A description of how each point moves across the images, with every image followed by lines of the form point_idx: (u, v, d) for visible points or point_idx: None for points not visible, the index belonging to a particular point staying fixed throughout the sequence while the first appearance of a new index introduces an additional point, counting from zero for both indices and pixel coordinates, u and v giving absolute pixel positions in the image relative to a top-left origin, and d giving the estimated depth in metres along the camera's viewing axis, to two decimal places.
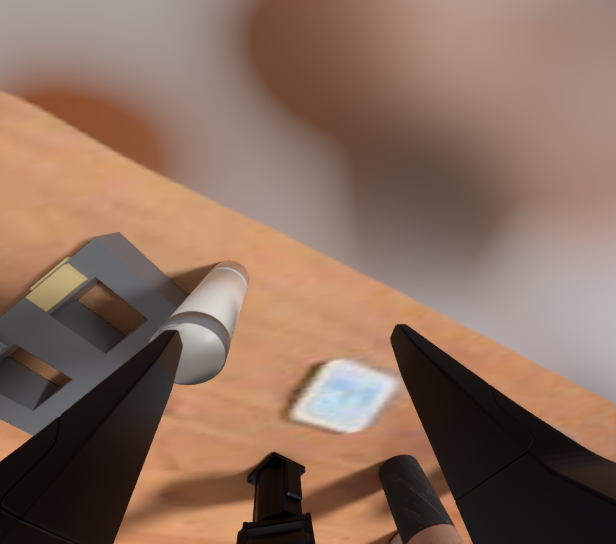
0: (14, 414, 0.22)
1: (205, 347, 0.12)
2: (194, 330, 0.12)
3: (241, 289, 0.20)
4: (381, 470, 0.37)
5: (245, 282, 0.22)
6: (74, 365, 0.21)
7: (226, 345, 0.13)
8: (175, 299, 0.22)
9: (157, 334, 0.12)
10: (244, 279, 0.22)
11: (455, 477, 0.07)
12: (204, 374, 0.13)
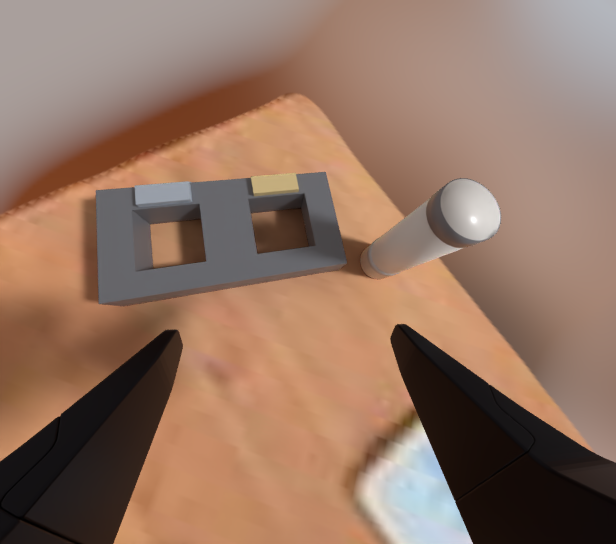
0: (115, 265, 0.18)
1: (486, 211, 0.13)
2: (484, 193, 0.14)
3: None
4: None
5: None
6: (222, 248, 0.20)
7: None
8: None
9: (459, 180, 0.14)
10: None
11: (455, 477, 0.07)
12: (475, 233, 0.13)
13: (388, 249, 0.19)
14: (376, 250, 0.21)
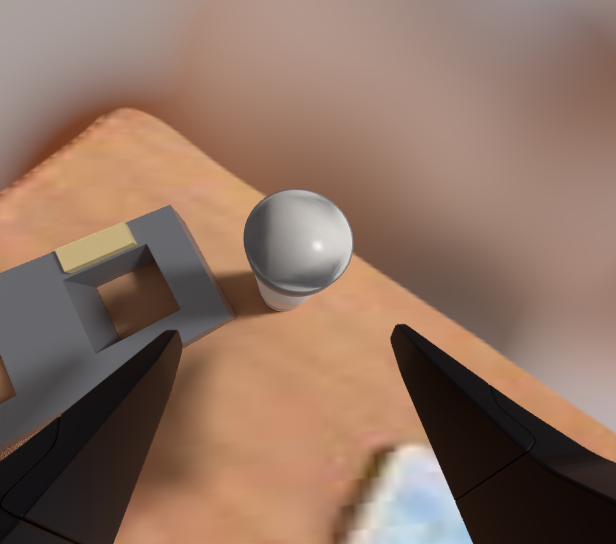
0: None
1: (327, 232, 0.09)
2: (319, 204, 0.09)
3: None
4: None
5: None
6: (37, 367, 0.14)
7: None
8: (220, 293, 0.17)
9: (272, 197, 0.08)
10: None
11: (455, 477, 0.07)
12: (316, 277, 0.08)
13: (262, 292, 0.14)
14: None
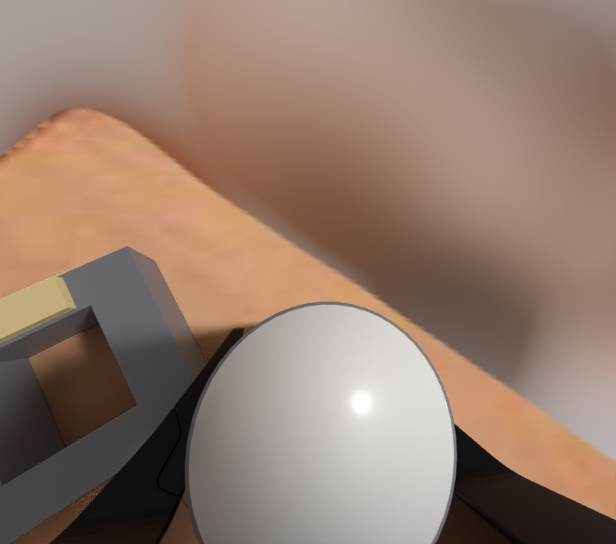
0: None
1: (395, 412, 0.04)
2: (371, 338, 0.04)
3: None
4: None
5: None
6: None
7: None
8: (197, 370, 0.13)
9: (262, 333, 0.03)
10: None
11: None
12: None
13: None
14: None
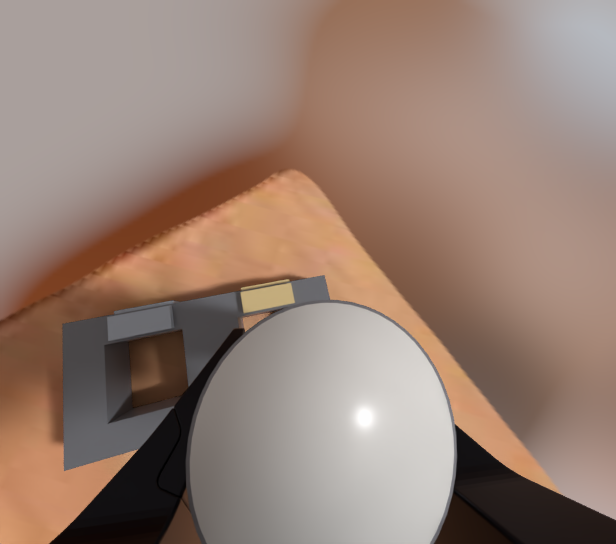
0: (83, 417, 0.16)
1: (395, 410, 0.04)
2: (372, 335, 0.04)
3: None
4: None
5: None
6: None
7: None
8: None
9: (262, 330, 0.04)
10: None
11: None
12: None
13: None
14: None
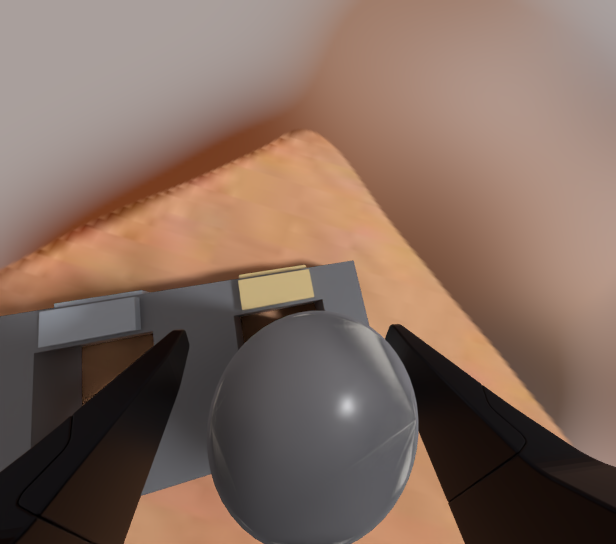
0: None
1: (369, 398, 0.04)
2: (352, 339, 0.05)
3: None
4: None
5: None
6: (187, 412, 0.12)
7: None
8: None
9: (265, 335, 0.04)
10: None
11: (448, 478, 0.07)
12: (352, 509, 0.04)
13: None
14: None
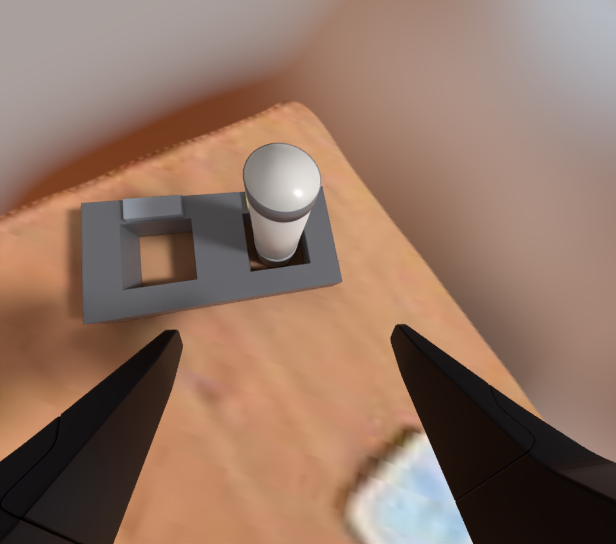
0: (101, 282, 0.18)
1: (302, 173, 0.12)
2: (297, 154, 0.12)
3: None
4: None
5: None
6: (214, 266, 0.19)
7: None
8: None
9: (263, 148, 0.12)
10: None
11: (455, 477, 0.07)
12: (293, 203, 0.12)
13: (256, 238, 0.17)
14: (255, 240, 0.19)
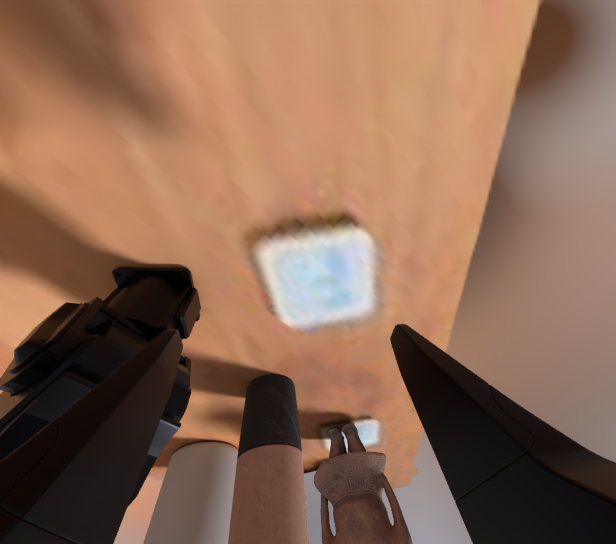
0: None
1: None
2: None
3: None
4: (260, 378, 0.32)
5: None
6: None
7: None
8: None
9: None
10: None
11: (455, 477, 0.07)
12: None
13: None
14: None
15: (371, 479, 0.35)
